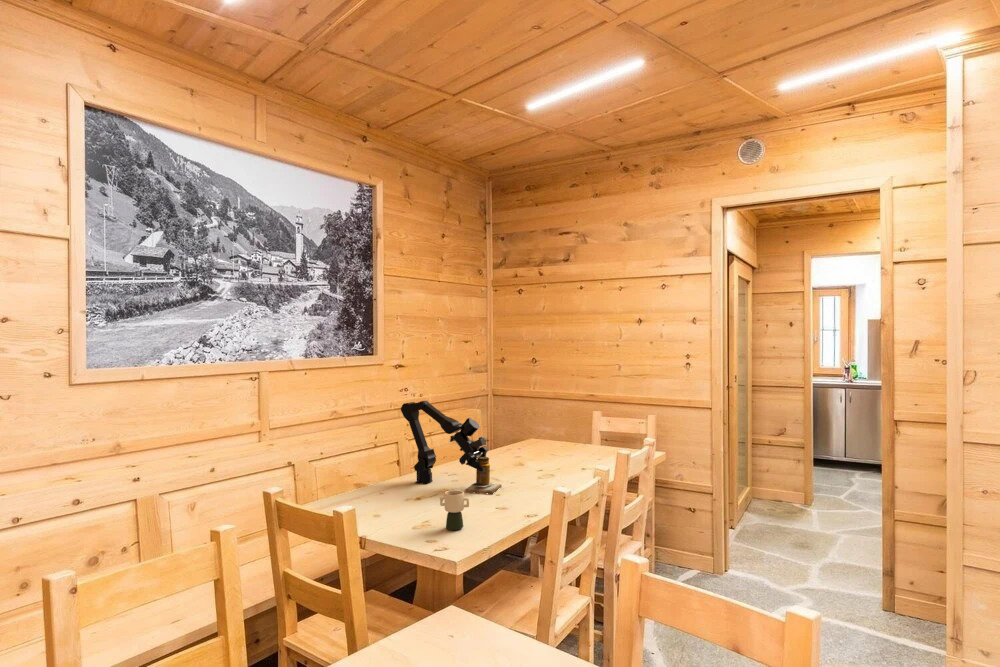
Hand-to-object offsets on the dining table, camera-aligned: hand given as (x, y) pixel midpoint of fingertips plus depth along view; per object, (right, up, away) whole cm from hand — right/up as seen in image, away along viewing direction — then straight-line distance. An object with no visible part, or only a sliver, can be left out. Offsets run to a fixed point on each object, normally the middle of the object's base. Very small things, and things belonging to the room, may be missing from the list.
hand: (485, 469), depth 259 cm
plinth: (-1, -9, 0) cm, 9 cm away
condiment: (-2, -7, 0) cm, 7 cm away
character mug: (-10, -9, -53) cm, 55 cm away
